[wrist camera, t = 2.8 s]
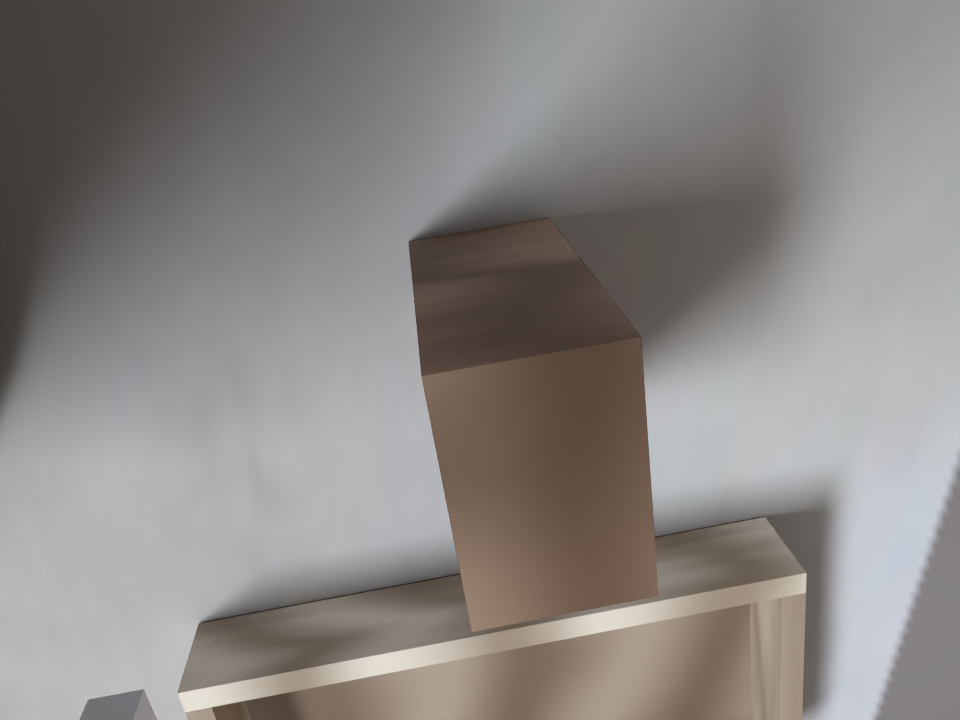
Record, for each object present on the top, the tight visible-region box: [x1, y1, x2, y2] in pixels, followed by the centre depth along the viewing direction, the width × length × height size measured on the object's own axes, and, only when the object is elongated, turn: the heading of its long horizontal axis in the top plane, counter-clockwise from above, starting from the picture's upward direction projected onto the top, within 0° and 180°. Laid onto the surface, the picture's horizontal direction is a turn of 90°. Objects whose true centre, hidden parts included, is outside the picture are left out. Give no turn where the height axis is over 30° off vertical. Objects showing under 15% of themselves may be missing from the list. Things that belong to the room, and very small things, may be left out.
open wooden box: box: [177, 517, 807, 720], centre depth 28 cm, size 20×11×3 cm, turn 98°
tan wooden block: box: [409, 217, 659, 632], centre depth 20 cm, size 4×6×9 cm, turn 8°
